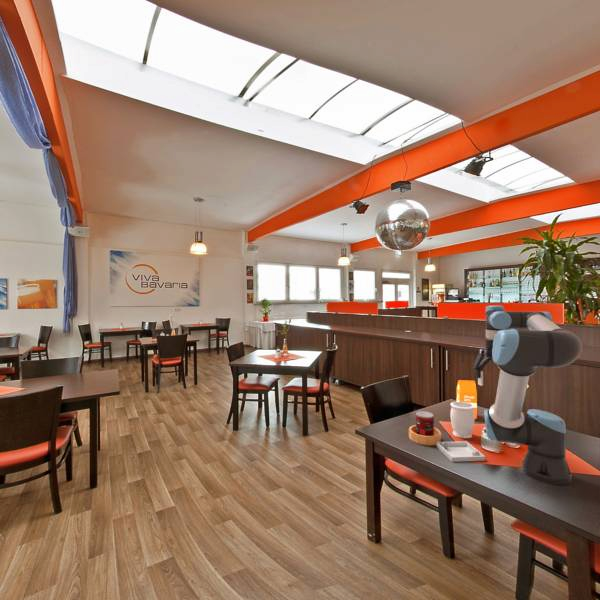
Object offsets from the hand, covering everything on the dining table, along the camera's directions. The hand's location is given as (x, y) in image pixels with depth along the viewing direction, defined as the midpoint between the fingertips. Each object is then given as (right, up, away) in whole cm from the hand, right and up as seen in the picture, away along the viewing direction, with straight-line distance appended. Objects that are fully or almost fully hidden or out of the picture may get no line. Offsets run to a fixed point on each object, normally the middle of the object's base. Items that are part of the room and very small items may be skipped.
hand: (494, 384), depth 154 cm
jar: (-11, -27, +8) cm, 30 cm away
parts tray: (-21, -27, -10) cm, 36 cm away
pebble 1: (-26, -27, -6) cm, 38 cm away
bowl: (-31, -27, +4) cm, 41 cm away
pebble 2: (-17, -27, -15) cm, 35 cm away
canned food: (-31, -26, +4) cm, 41 cm away
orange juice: (+4, -26, +34) cm, 43 cm away
